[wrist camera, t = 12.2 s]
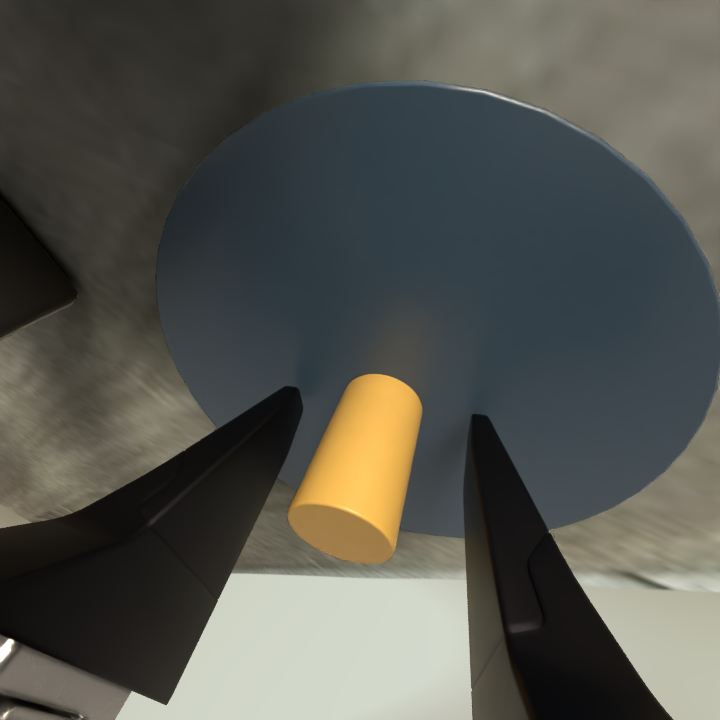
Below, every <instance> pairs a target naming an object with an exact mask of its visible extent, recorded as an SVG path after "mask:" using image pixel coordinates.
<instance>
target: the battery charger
mask: <svg viewBox="0 0 720 720" xmlns="http://www.w3.org/2000/svg"><path fill="white" fill-rule="evenodd" d="M77 296H78V293H77V290H76V289H75V288H74V287H73V285H72V284H71V283H70V281H69V280H68V279H67V278H66V276H65V275H64V274H63V272H62V271H61V270H60V269H59V267H58V266H57V265H56V264H55V262H54V261H53V260H52V258H51V257H50V256H49V255H48V254H47V252H46V251H45V250H44V249H43V248H42V246H41V245H40V244H39V243H38V242H37V241H36V239H35V238H34V237H33V236H32V235H31V233H30V232H29V231H28V230H27V229H26V227H25V226H24V225H23V224H22V223H21V221H20V220H19V219H18V218H17V217H16V216H15V214H14V213H13V212H12V211H11V210H10V208H9V207H8V206H7V205H6V204H5V203H4V202H3V201H2V199H1V198H0V341H1V340H3V339H5V338H7V337H9V336H11V335H13V334H15V333H17V332H18V331H20V330H22V329H24V328H26V327H28V326H30V325H32V324H34V323H36V322H38V321H40V320H42V319H44V318H46V317H48V316H50V315H52V314H54V313H56V312H58V311H60V310H62V309H65V308H67V307H69V306H71V305H72V304H73V303H74V300H76V299H77Z"/></svg>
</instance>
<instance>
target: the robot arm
mask: <svg viewBox="0 0 720 720" xmlns="http://www.w3.org/2000/svg"><path fill="white" fill-rule="evenodd" d="M302 413H303V403H302V399H301V395H300V391H299V389H298V388H297V387H292V386H284V387H282V388H281V389H279V390H278V391H276V392H275V393H273V394H272V395H270V396H268V397H267V398H265V399H264V400H262V401H261V402H259V403H257V404H256V405H254V406H253V407H251V408H250V409H248V410H247V411H245V412H243V413H242V414H240V415H239V416H237V417H236V418H234V419H232V420H231V421H229V422H228V423H226V424H225V425H223V426H222V427H220V428H218V429H217V430H215V431H214V432H212V433H211V434H209V435H208V436H206V437H204V438H203V439H201V440H200V441H198V442H197V443H195V444H193V445H192V446H190V447H189V448H187V449H186V450H185V451H182V452H181V453H179V454H178V455H176V456H175V457H173V458H171V459H170V460H168V461H167V462H165V463H163V464H162V465H160V466H158V467H157V468H155V469H154V470H152V471H150V472H148V473H147V474H145V475H143V476H141V477H140V478H138V479H136V480H134V481H132V482H131V483H129V484H127V485H125V486H123V487H122V488H120V489H118V490H116V491H114V492H112V493H111V494H109V495H107V496H105V497H103V498H102V499H100V500H98V501H96V502H94V503H92V504H91V505H89V506H87V507H85V508H83V509H81V510H79V511H76V512H74V513H72V514H69V515H66V516H63V517H59V518H55V519H51V520H45V521H40V522H34V523H29V524H23V525H17V526H12V527H6V528H0V720H115V718H116V717H117V715H118V713H119V712H120V710H121V708H122V707H123V705H124V703H125V701H126V700H127V698H128V696H129V695H130V693H131V691H134V692H136V693H138V694H141V695H143V696H146V697H148V698H150V699H153V700H155V701H157V702H160V703H162V704H164V705H167V704H168V702H169V700H170V698H171V697H172V695H173V693H174V691H175V688H176V686H177V684H178V682H179V680H180V678H181V676H182V674H183V672H184V670H185V668H186V665H187V664H188V662H189V659H190V657H191V655H192V653H193V651H194V649H195V647H196V645H197V643H198V641H199V639H200V637H201V635H202V633H203V630H204V628H205V626H206V624H207V622H208V620H209V618H210V616H211V614H212V612H213V610H214V608H215V606H216V603H217V601H218V599H219V597H220V595H221V593H222V591H223V589H224V587H225V584H226V582H227V580H228V578H229V576H230V574H231V572H232V570H233V568H234V566H235V564H236V562H237V560H238V558H239V555H240V553H241V551H242V549H243V547H244V545H245V543H246V541H247V539H248V537H249V535H250V533H251V531H252V529H253V526H254V524H255V522H256V520H257V518H258V516H259V514H260V512H261V510H262V508H263V506H264V504H265V502H266V500H267V497H268V495H269V493H270V491H271V489H272V487H273V485H274V483H275V481H276V479H277V477H278V475H279V473H280V471H281V468H282V466H283V464H284V462H285V460H286V458H287V456H288V453H289V450H290V448H291V445H292V442H293V439H294V436H295V433H296V431H297V428H298V425H299V422H300V419H301V416H302ZM463 506H464V529H465V552H466V576H467V598H468V621H469V643H470V668H471V688H472V692H471V693H472V715H473V720H673V719H672V717H671V716H670V715H669V714H668V713H667V712H666V711H665V709H664V708H663V707H662V706H661V705H660V703H659V702H658V701H657V699H656V698H655V697H654V695H653V694H652V693H651V692H650V690H649V689H648V687H647V686H646V685H645V683H644V682H643V680H642V679H641V678H640V676H639V675H638V673H637V671H636V670H635V668H634V667H633V665H632V664H631V662H630V661H629V659H628V658H627V657H626V655H625V653H624V652H623V650H622V649H621V647H620V646H619V644H618V643H617V641H616V640H615V638H614V636H613V635H612V634H611V632H610V630H609V629H608V627H607V626H606V624H605V623H604V621H603V620H602V618H601V617H600V615H599V614H598V612H597V611H596V609H595V608H594V606H593V605H592V603H591V602H590V600H589V599H588V597H587V595H586V594H585V593H584V591H583V589H582V587H581V586H580V584H579V583H578V581H577V580H576V578H575V576H574V575H573V573H572V571H571V570H570V568H569V566H568V564H567V562H566V561H565V559H564V557H563V555H562V554H561V552H560V550H559V548H558V546H557V544H556V543H555V541H554V539H553V537H552V535H551V534H550V533H548V532H549V530H548V528H547V526H546V524H545V522H544V520H543V518H542V517H541V515H540V513H539V511H538V509H537V507H536V505H535V503H534V501H533V500H532V498H531V496H530V494H529V492H528V490H527V488H526V486H525V484H524V483H523V481H522V479H521V477H520V475H519V473H518V471H517V469H516V468H515V466H514V464H513V462H512V460H511V458H510V456H509V454H508V452H507V451H506V449H505V447H504V445H503V443H502V441H501V439H500V437H499V436H498V434H497V432H496V430H495V428H494V426H493V424H492V422H491V420H490V419H489V417H488V416H487V415H482V414H475V413H474V414H472V415H471V420H470V426H469V431H468V438H467V449H466V461H465V473H464V485H463Z"/></svg>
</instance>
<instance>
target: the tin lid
mask: <svg viewBox="0 0 720 720" xmlns="http://www.w3.org/2000/svg"><path fill="white" fill-rule="evenodd" d="M156 293H157V306H158V311H159V316H160V321H161V326H162V330H163V333H164V336H165V339H166V342H167V345H168V348H169V351H170V354H171V356H172V358H173V360H174V362H175V365H176V367H177V369H178V371H179V373H180V375H181V377H182V379H183V380H184V382H185V384H186V385H187V387H188V389H189V391H190V392H191V394H192V395H193V397H194V398H195V399H196V401H197V402H198V404H199V405H200V406H201V408H202V409H203V411H204V412H205V413H206V414H207V416H208V417H209V418H210V419H211V420H212V422H213V423H214V424H215V425H216V426H217V427H218V428H220V427H222V426H223V425H225V424H226V423H228V422H229V421H231V420H232V419H234V418H236V417H237V416H239V415H240V414H242V413H243V412H245V411H247V410H248V409H250V408H251V407H253V406H254V405H256V404H257V403H259V402H261V401H262V400H264V399H265V398H267V397H268V396H270V395H272V394H273V393H275V392H276V391H278V390H279V389H281V388H282V387H284V386H292V387H297V388H298V389H299V391H300V395H301V399H302V403H303V413H302V416H301V419H300V422H299V425H298V428H297V431H296V433H295V436H294V439H293V442H292V445H291V448H290V450H289V453H288V456H287V458H286V460H285V462H284V464H283V466H282V468H281V471H280V473H279V475H278V477H277V478H278V479H279V480H281V481H282V482H284V483H285V484H287V485H289V486H290V487H292V488H294V489H296V490H297V492H296V494H295V497H294V499H293V501H292V503H291V505H290V507H289V509H288V513H287V518H288V522H289V524H290V526H291V527H292V529H293V530H294V531H295V532H296V533H297V534H298V535H299V536H300V537H301V538H302V539H304V540H305V541H306V542H308V543H309V544H310V545H312V546H314V547H315V548H317V549H319V550H321V551H323V552H325V553H327V554H329V555H332V556H334V557H337V558H340V559H343V560H347V561H351V562H356V563H364V564H376V563H382V562H385V561H387V560H389V559H390V558H391V557H392V556H393V554H394V552H395V547H396V542H397V537H398V532H399V529H400V530H405V531H409V532H415V533H421V534H428V535H434V536H446V537H458V538H465V529H464V506H463V485H464V473H465V461H466V449H467V438H468V431H469V426H470V420H471V415H472V414H474V413H475V414H482V415H487V416H488V417H489V419H490V420H491V422H492V424H493V426H494V428H495V430H496V432H497V434H498V436H499V437H500V439H501V441H502V443H503V445H504V447H505V449H506V451H507V452H508V454H509V456H510V458H511V460H512V462H513V464H514V466H515V468H516V469H517V471H518V473H519V475H520V477H521V479H522V481H523V483H524V484H525V486H526V488H527V490H528V492H529V494H530V496H531V498H532V500H533V501H534V503H535V505H536V507H537V509H538V511H539V513H540V515H541V517H542V518H543V520H544V522H545V524H546V526H547V528H548V530H551V529H555V528H560V527H563V526H566V525H569V524H572V523H576V522H579V521H582V520H585V519H588V518H590V517H592V516H595V515H597V514H599V513H601V512H604V511H606V510H608V509H610V508H613V507H615V506H616V505H618V504H620V503H621V502H623V501H625V500H626V499H628V498H630V497H631V496H633V495H635V494H637V493H638V492H640V491H641V490H642V489H644V488H645V487H646V486H647V485H649V484H650V483H651V482H652V481H654V480H655V479H656V478H658V477H659V476H660V475H661V474H663V473H664V472H665V471H666V470H667V469H668V467H669V466H670V465H671V464H672V463H673V462H674V461H675V460H676V459H677V458H678V457H679V456H680V455H681V454H682V452H683V451H684V450H685V449H686V448H687V446H688V445H689V443H690V442H691V440H692V438H693V437H694V435H695V434H696V432H697V431H698V429H699V428H700V426H701V425H702V423H703V422H704V419H705V417H706V414H707V412H708V409H709V407H710V404H711V402H712V399H713V397H714V394H715V392H716V390H717V385H718V380H719V374H720V301H719V297H718V294H717V290H716V287H715V283H714V280H713V276H712V273H711V269H710V266H709V263H708V261H707V259H706V257H705V255H704V254H703V252H702V250H701V248H700V246H699V244H698V243H697V241H696V239H695V237H694V235H693V233H692V231H691V230H690V228H689V226H688V224H687V222H686V220H685V219H684V217H683V216H682V215H681V214H680V213H679V212H678V210H677V209H676V208H675V207H674V206H673V205H672V203H671V202H670V201H669V200H668V199H667V197H666V196H665V195H664V194H663V193H662V192H661V190H660V189H659V188H658V187H657V186H656V184H655V183H654V182H653V181H652V180H651V179H650V177H649V176H647V175H646V174H645V173H644V172H642V171H641V170H640V169H639V168H637V167H636V166H635V165H634V164H632V163H631V162H630V161H629V160H627V159H626V158H625V157H624V156H622V155H621V154H620V153H619V152H617V151H616V150H615V149H614V148H612V147H611V146H610V145H609V144H607V143H606V142H605V141H604V140H602V139H601V138H599V137H597V136H595V135H593V134H591V133H589V132H588V131H586V130H584V129H582V128H580V127H578V126H576V125H575V124H573V123H571V122H569V121H567V120H565V119H563V118H561V117H560V116H558V115H556V114H554V113H552V112H550V111H548V110H546V109H544V108H541V107H538V106H535V105H532V104H529V103H526V102H523V101H520V100H517V99H514V98H511V97H508V96H505V95H502V94H499V93H496V92H492V91H489V90H486V89H479V88H473V87H466V86H459V85H452V84H446V83H439V82H432V81H393V82H364V83H359V84H354V85H349V86H344V87H339V88H334V89H329V90H324V91H319V92H314V93H311V94H309V95H306V96H304V97H301V98H299V99H296V100H294V101H291V102H288V103H286V104H283V105H281V106H278V107H276V108H273V109H271V110H268V111H266V112H265V113H263V114H262V115H260V116H258V117H257V118H255V119H254V120H252V121H250V122H249V123H247V124H246V125H244V126H243V127H241V128H239V129H238V130H236V131H235V132H233V133H231V134H230V135H229V136H228V137H227V138H226V139H225V140H224V141H222V142H221V143H220V144H219V145H218V146H217V147H216V148H215V149H214V150H213V151H212V152H211V153H210V154H209V155H207V156H206V157H205V158H204V159H203V160H202V161H201V162H200V164H199V165H198V167H197V168H196V169H195V171H194V172H193V173H192V175H191V176H190V178H189V179H188V180H187V182H186V183H185V184H184V186H183V187H182V188H181V190H180V192H179V194H178V196H177V198H176V200H175V202H174V205H173V207H172V209H171V211H170V213H169V215H168V217H167V219H166V222H165V226H164V230H163V233H162V237H161V241H160V244H159V248H158V257H157V267H156Z"/></svg>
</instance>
